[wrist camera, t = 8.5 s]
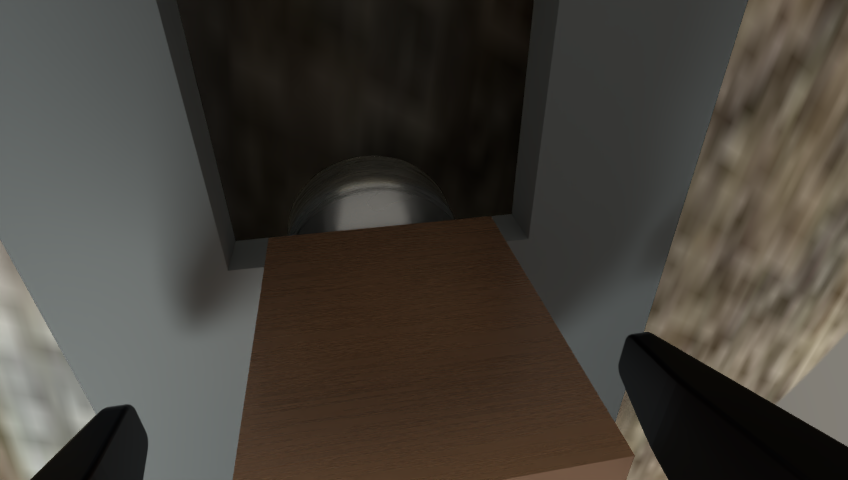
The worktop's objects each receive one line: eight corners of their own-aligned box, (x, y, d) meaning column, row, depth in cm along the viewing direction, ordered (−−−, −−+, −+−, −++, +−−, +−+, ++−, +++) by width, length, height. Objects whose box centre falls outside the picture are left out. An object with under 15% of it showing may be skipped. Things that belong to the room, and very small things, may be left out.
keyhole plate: (208, 369, 18) (167, 543, 13) (2, -244, 9) (-376, -447, 4) (528, 326, 20) (601, 464, 15) (608, -219, 11) (855, -339, 6)
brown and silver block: (301, 310, 15) (287, 717, 7) (273, 151, 12) (202, 533, 4) (448, 293, 15) (574, 647, 8) (452, 138, 13) (652, 453, 5)
